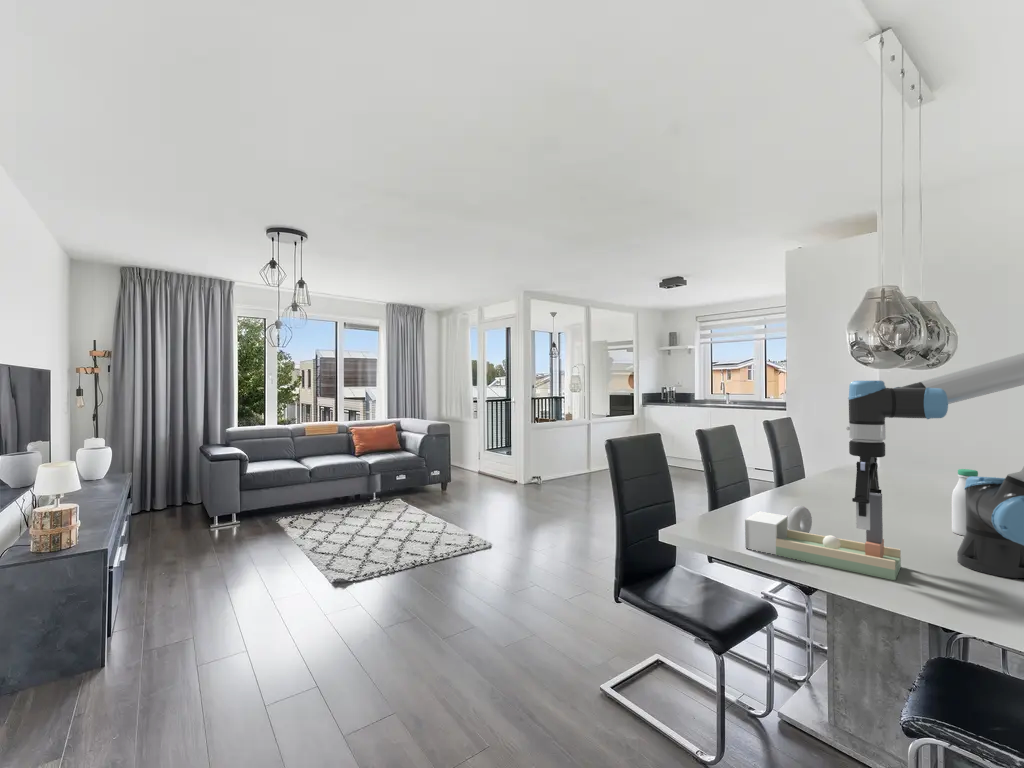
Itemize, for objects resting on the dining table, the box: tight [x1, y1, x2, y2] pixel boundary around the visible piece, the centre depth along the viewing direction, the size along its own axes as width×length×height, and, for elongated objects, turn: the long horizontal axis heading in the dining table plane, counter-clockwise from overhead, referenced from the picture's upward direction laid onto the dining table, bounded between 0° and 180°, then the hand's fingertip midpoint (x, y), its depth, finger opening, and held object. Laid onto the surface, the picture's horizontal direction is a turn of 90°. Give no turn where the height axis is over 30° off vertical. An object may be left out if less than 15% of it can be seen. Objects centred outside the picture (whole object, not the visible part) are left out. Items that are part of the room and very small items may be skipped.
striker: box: [864, 493, 885, 558], centre depth 125 cm, size 3×7×16 cm, turn 136°
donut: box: [788, 505, 813, 533], centre depth 150 cm, size 10×4×10 cm, turn 122°
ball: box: [823, 535, 841, 550], centre depth 131 cm, size 4×4×4 cm
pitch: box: [744, 510, 902, 581], centre depth 133 cm, size 34×12×8 cm, turn 46°
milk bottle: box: [951, 468, 979, 537], centre depth 152 cm, size 8×8×20 cm
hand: (867, 523), depth 126 cm, fingers open, 13 cm apart
